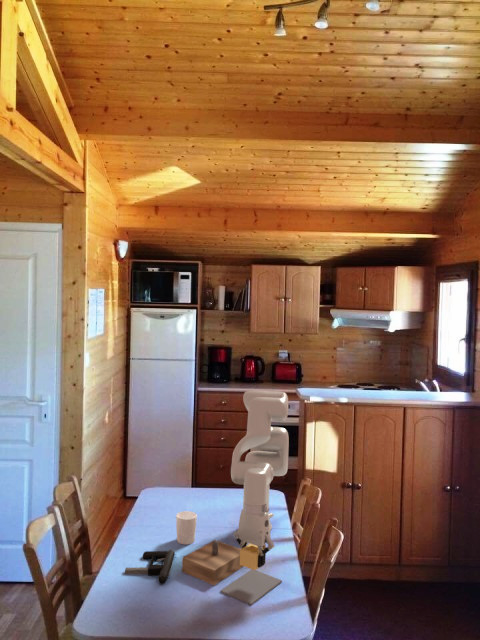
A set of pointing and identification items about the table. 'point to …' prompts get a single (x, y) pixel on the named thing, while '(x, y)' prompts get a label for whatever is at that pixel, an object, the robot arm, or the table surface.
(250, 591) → the mat
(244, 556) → the collar
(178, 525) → the white cup
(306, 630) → the table surface
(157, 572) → the door handle
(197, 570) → the stand
